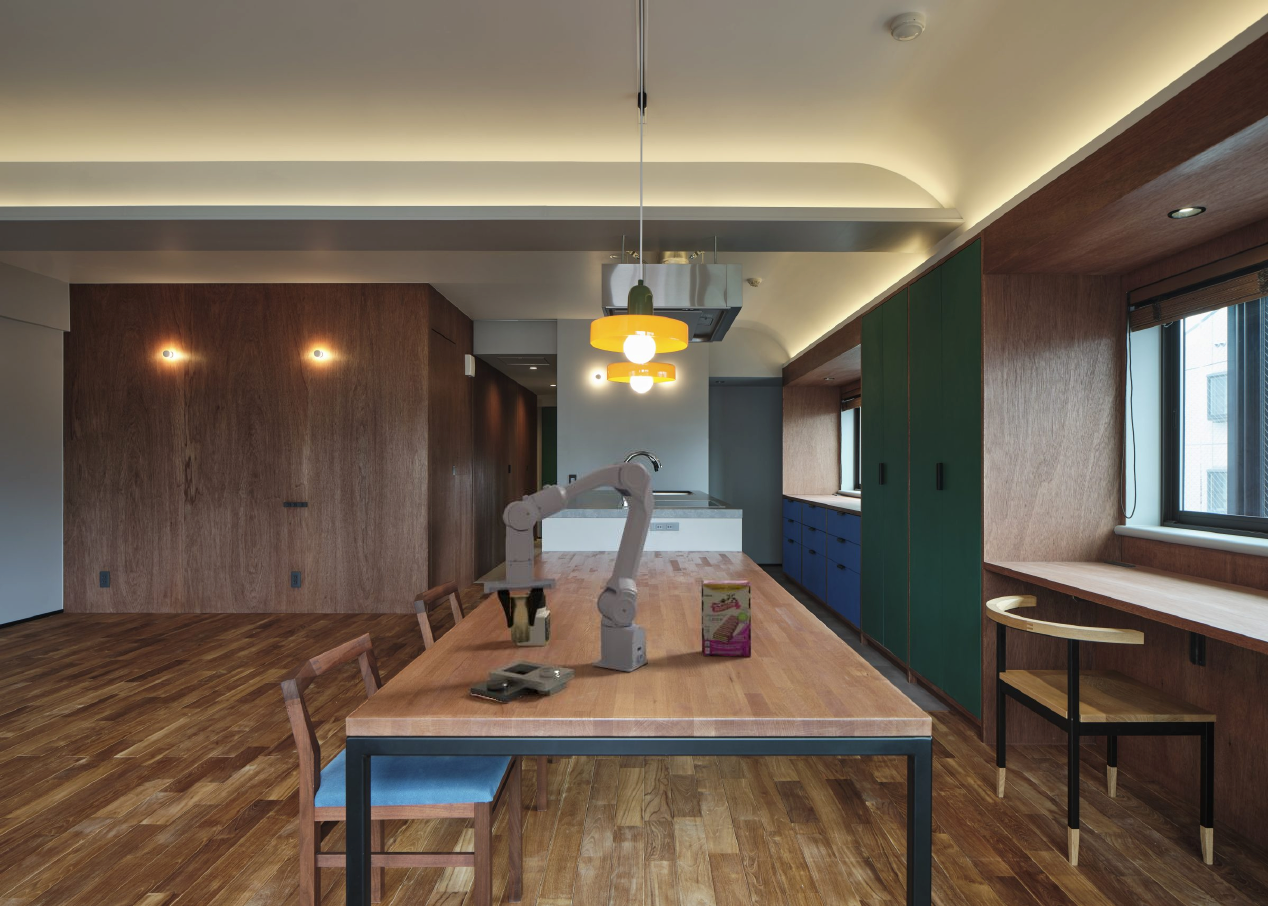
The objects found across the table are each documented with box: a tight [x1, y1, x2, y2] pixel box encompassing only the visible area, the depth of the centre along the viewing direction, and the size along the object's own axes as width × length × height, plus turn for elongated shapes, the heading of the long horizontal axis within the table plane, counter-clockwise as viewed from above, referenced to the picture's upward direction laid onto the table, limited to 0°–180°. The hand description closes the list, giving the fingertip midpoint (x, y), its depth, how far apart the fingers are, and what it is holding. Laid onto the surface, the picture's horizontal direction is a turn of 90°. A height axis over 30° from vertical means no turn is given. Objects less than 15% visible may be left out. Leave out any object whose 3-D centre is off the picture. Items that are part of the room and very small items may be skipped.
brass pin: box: [510, 594, 531, 644], centre depth 132 cm, size 4×4×9 cm
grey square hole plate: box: [488, 659, 575, 696], centre depth 126 cm, size 14×9×4 cm, turn 60°
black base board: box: [470, 671, 536, 704], centre depth 125 cm, size 14×9×2 cm, turn 150°
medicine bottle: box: [516, 592, 551, 647], centre depth 159 cm, size 7×7×12 cm
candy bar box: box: [701, 579, 752, 657], centre depth 146 cm, size 11×5×16 cm, turn 84°
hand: (520, 625), depth 132 cm, fingers closed on brass pin, 4 cm apart
